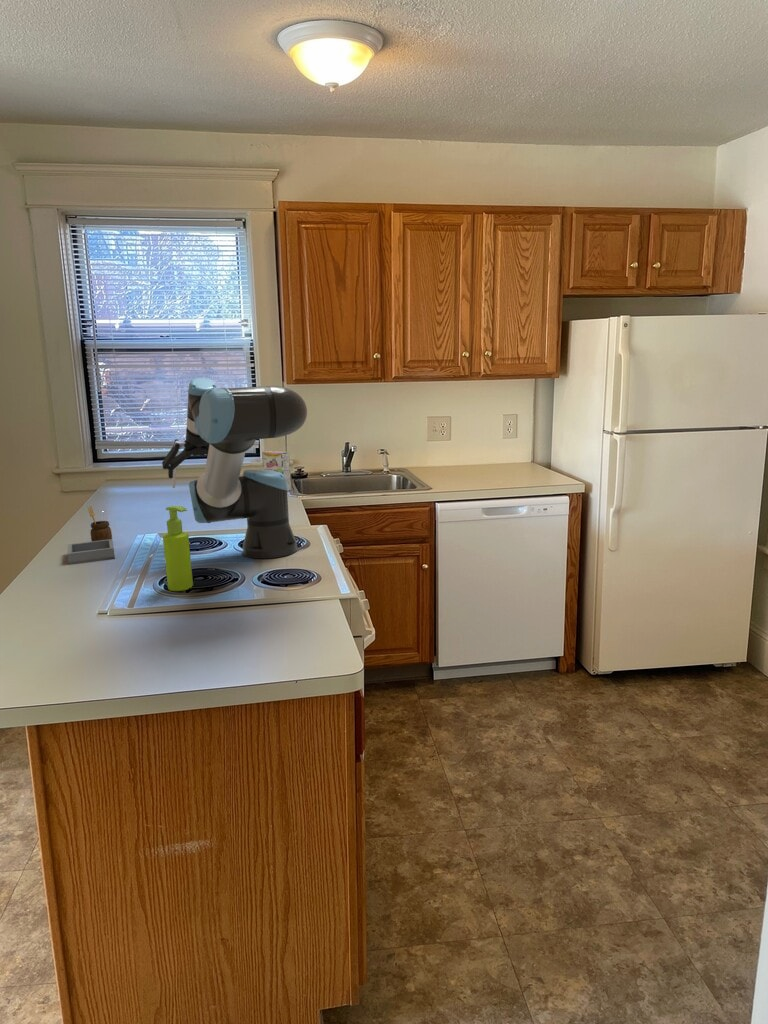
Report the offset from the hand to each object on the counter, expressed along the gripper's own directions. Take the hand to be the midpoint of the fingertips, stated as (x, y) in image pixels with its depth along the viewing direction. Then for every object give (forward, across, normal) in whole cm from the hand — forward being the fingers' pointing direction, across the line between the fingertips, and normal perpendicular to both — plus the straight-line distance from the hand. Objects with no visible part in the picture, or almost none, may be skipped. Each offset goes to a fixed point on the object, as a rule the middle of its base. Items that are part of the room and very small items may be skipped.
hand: (196, 484), depth 218 cm
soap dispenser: (-12, +10, +53) cm, 55 cm away
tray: (+12, +31, +17) cm, 37 cm away
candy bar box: (+47, -42, -50) cm, 80 cm away
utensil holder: (+18, +28, +6) cm, 34 cm away
